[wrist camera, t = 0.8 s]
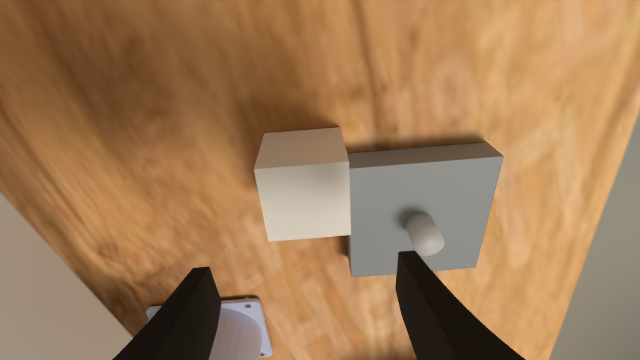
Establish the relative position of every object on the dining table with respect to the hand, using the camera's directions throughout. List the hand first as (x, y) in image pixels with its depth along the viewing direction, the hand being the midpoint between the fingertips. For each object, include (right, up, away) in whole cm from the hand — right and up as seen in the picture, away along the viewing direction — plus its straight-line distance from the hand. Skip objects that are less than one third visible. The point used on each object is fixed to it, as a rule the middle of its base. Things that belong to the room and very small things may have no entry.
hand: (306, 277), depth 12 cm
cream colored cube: (0, +5, +8) cm, 9 cm away
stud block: (+7, +2, +10) cm, 12 cm away
